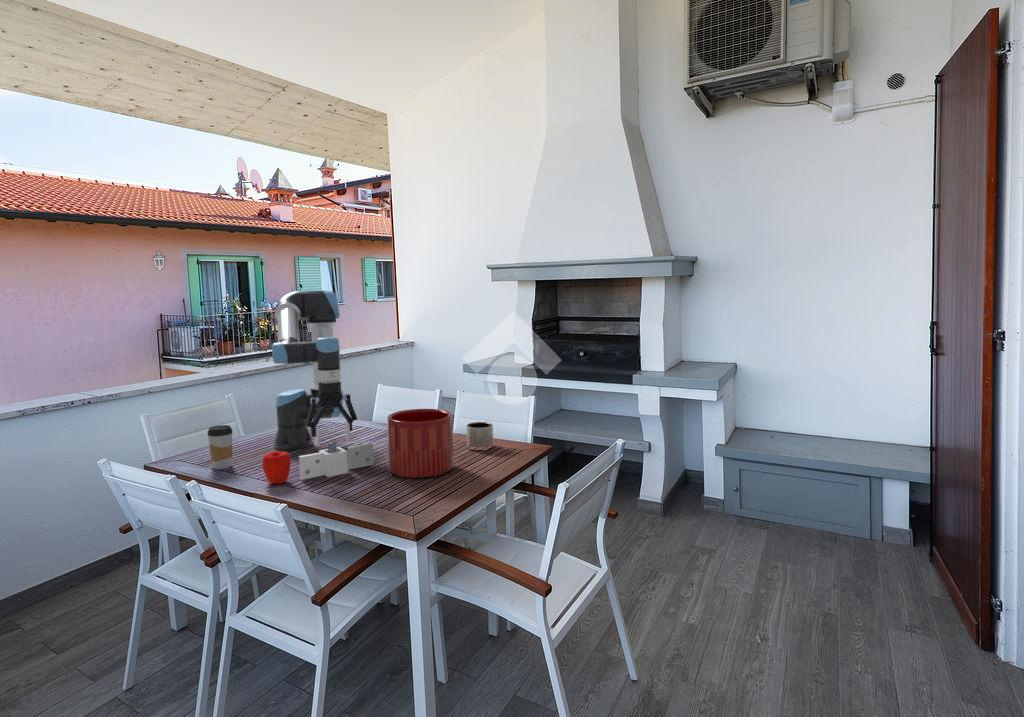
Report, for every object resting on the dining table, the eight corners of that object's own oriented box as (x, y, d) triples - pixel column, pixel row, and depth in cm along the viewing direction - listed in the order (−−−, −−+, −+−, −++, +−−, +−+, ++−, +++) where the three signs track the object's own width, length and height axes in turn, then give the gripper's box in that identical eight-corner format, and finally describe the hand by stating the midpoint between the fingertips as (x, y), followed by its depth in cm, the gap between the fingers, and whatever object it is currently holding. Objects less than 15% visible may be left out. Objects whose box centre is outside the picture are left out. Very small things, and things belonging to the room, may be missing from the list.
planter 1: (399, 484, 193) (397, 425, 190) (381, 466, 213) (379, 412, 211) (463, 473, 203) (462, 417, 201) (440, 457, 223) (439, 406, 221)
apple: (263, 488, 189) (261, 456, 188) (263, 481, 197) (261, 450, 196) (292, 485, 193) (290, 453, 192) (291, 477, 201) (289, 447, 200)
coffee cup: (240, 464, 216) (237, 425, 214) (222, 471, 208) (219, 430, 207) (222, 462, 219) (220, 424, 217) (204, 469, 211) (201, 429, 209)
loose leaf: (348, 468, 210) (347, 446, 209) (372, 463, 215) (371, 442, 214) (350, 469, 208) (349, 447, 207) (374, 465, 213) (373, 443, 212)
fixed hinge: (297, 476, 202) (296, 454, 201) (340, 468, 211) (339, 446, 210) (304, 482, 196) (303, 459, 195) (348, 473, 205) (347, 451, 204)
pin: (328, 472, 206) (326, 442, 205) (336, 470, 208) (334, 440, 206) (331, 474, 204) (329, 444, 202) (339, 472, 205) (337, 442, 204)
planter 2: (495, 450, 233) (495, 426, 232) (469, 452, 230) (468, 428, 229) (490, 443, 243) (489, 421, 242) (464, 445, 240) (464, 422, 239)
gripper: (299, 386, 192) (303, 450, 195) (365, 379, 206) (367, 439, 208) (292, 383, 198) (296, 446, 200) (356, 376, 212) (359, 435, 214)
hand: (332, 442), depth 204 cm, fingers open, 10 cm apart
